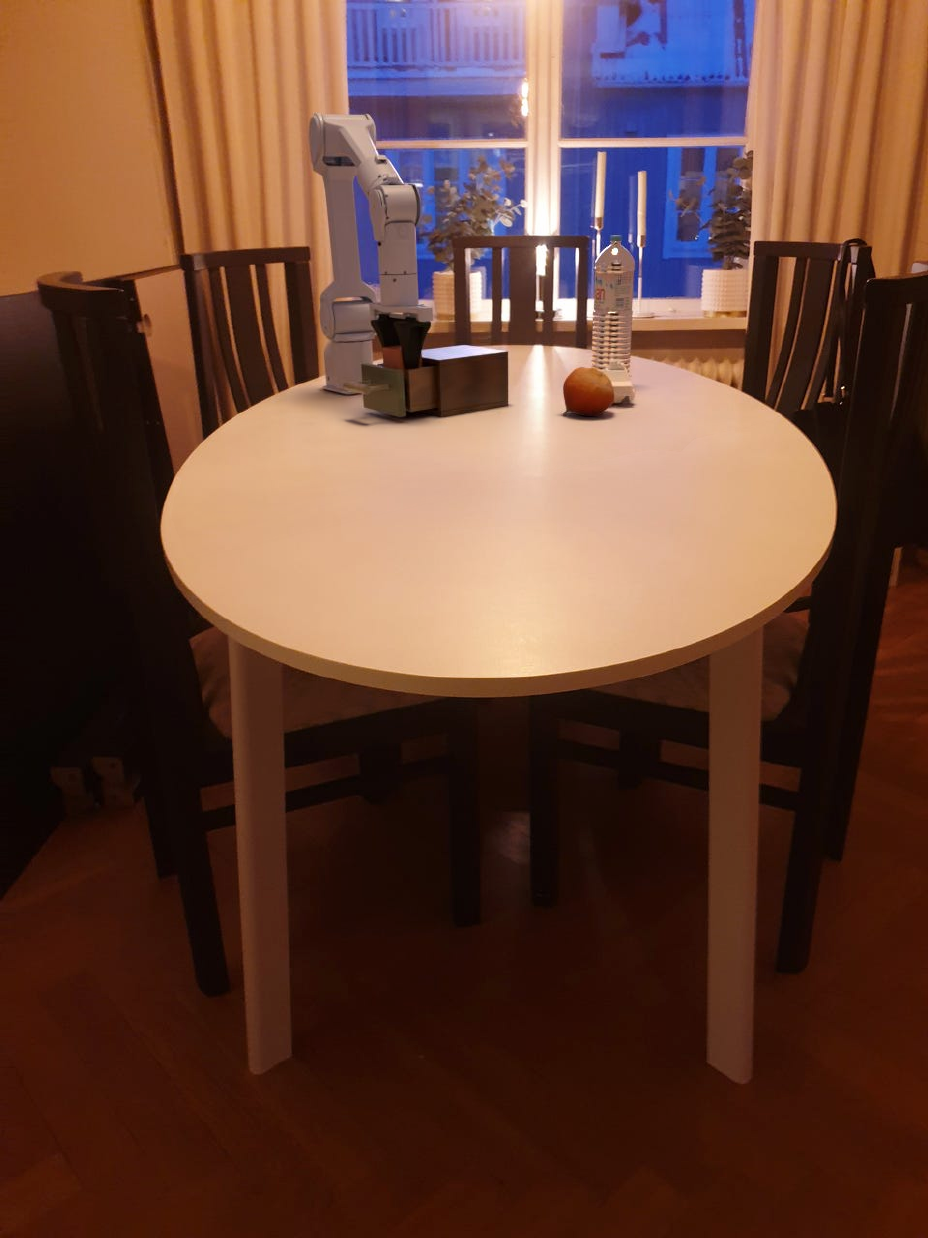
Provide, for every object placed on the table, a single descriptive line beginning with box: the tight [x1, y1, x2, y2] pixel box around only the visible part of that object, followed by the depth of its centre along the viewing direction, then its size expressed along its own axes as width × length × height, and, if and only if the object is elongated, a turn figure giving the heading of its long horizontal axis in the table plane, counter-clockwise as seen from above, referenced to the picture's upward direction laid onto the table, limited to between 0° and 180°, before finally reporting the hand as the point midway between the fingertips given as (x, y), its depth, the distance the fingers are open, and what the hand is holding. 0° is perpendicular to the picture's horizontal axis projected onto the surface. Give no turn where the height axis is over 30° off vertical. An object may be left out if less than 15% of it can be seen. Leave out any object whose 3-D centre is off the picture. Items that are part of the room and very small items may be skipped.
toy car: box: [604, 359, 636, 404], centre depth 148 cm, size 6×12×7 cm, turn 175°
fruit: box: [562, 366, 614, 418], centre depth 138 cm, size 8×8×8 cm
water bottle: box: [590, 234, 636, 375], centre depth 156 cm, size 7×7×25 cm
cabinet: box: [419, 344, 509, 418], centre depth 146 cm, size 14×12×9 cm
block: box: [381, 345, 422, 379], centre depth 140 cm, size 4×4×4 cm
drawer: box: [343, 362, 438, 418], centre depth 141 cm, size 17×10×7 cm, turn 127°
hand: (402, 367), depth 140 cm, fingers closed on block, 4 cm apart
